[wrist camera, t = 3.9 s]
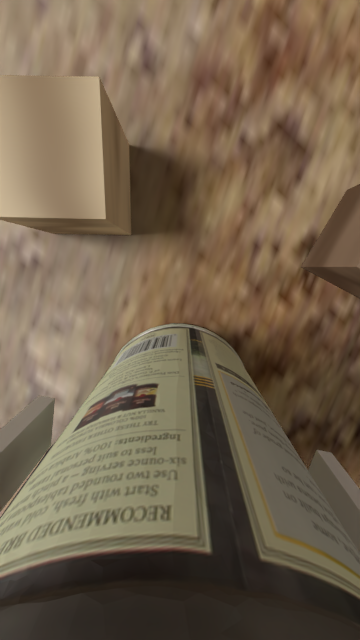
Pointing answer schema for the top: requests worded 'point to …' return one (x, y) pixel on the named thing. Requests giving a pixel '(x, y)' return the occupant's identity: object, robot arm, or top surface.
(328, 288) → the top surface
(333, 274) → the walnut cube
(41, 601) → the coffee can
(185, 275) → the top surface
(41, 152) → the oak cube
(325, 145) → the top surface
